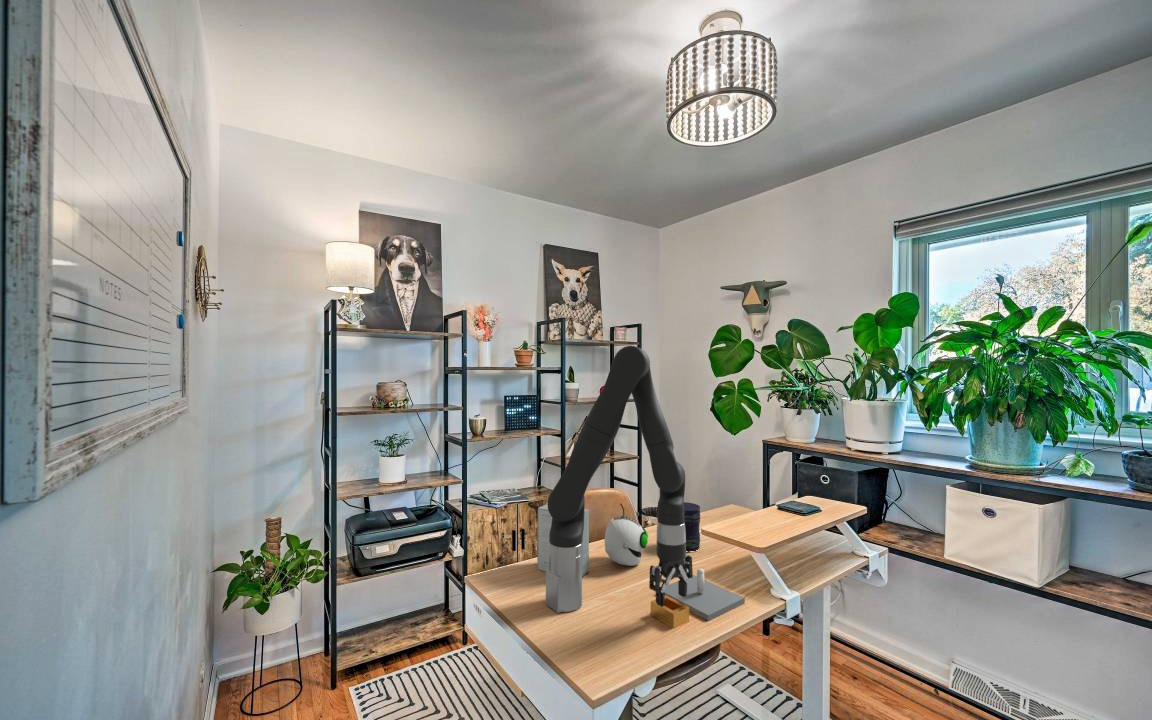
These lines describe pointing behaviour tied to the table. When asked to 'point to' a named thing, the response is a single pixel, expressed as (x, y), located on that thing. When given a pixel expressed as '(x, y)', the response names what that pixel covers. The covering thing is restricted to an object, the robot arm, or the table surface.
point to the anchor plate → (705, 597)
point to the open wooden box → (670, 612)
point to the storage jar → (692, 526)
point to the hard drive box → (543, 539)
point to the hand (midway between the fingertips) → (671, 600)
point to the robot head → (625, 540)
